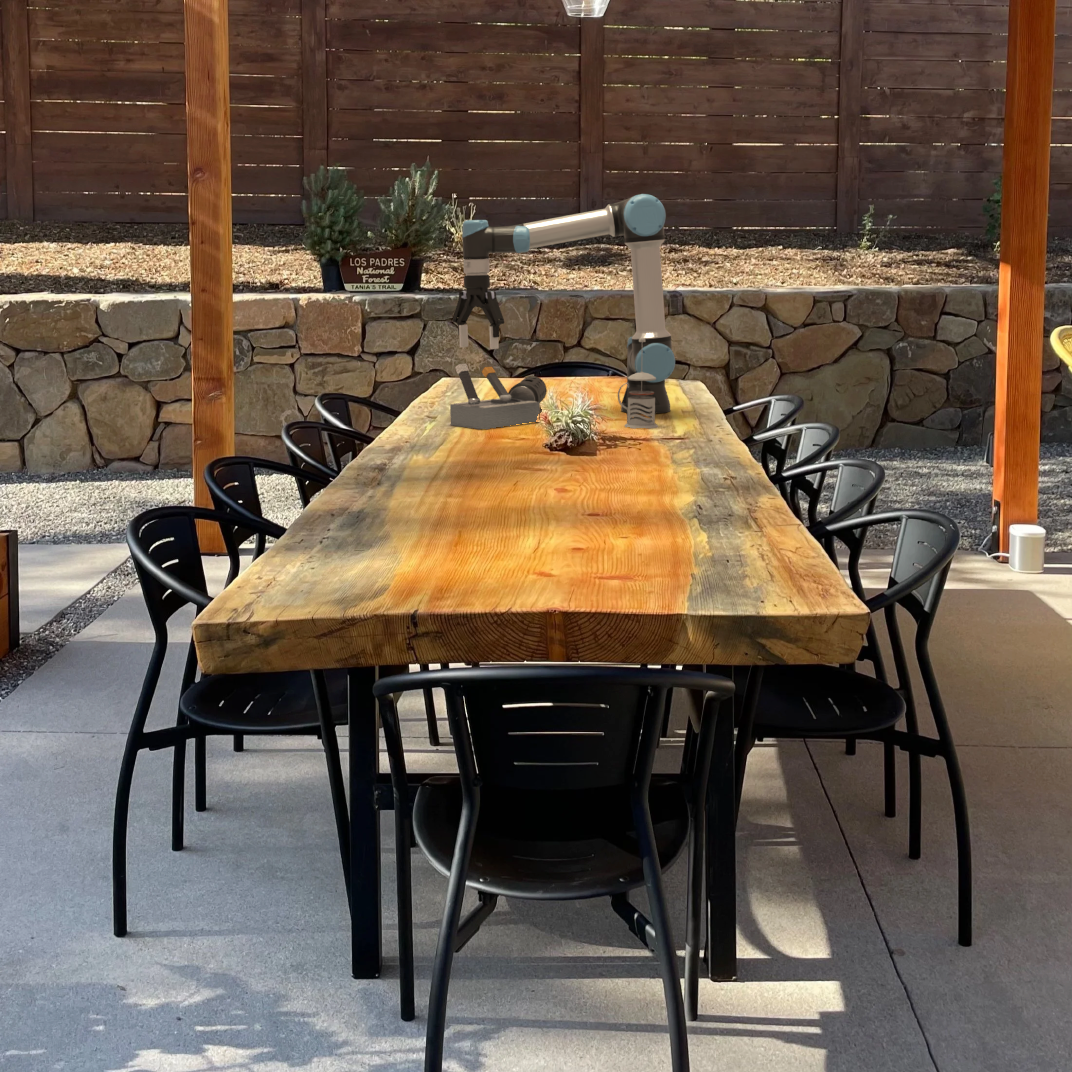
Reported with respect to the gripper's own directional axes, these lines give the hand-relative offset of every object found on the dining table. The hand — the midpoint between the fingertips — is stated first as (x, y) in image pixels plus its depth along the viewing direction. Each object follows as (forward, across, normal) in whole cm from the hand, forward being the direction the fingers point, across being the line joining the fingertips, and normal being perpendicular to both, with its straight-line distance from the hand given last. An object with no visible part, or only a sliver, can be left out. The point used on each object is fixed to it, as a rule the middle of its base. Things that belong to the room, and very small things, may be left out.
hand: (479, 348), depth 400 cm
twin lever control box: (+21, +12, -5) cm, 24 cm away
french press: (+22, +44, +21) cm, 53 cm away
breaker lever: (+14, +12, 0) cm, 18 cm away
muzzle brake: (+22, -1, +20) cm, 29 cm away
